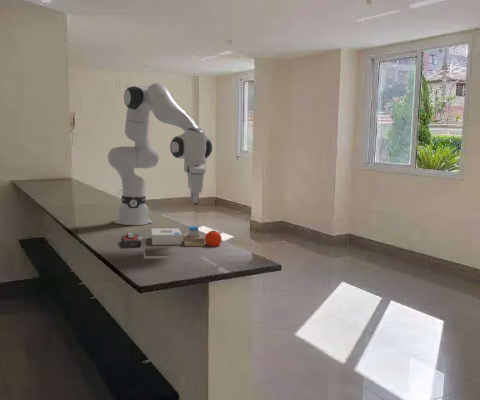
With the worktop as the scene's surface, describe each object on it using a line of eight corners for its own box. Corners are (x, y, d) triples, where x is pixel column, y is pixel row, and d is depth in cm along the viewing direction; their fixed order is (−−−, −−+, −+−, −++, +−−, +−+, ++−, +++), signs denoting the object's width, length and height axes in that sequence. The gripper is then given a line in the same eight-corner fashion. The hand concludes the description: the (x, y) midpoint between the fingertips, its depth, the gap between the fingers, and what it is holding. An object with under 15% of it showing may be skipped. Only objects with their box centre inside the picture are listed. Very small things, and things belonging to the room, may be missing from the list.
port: (151, 239, 215) (151, 227, 214) (178, 239, 217) (179, 227, 216) (152, 247, 201) (152, 234, 200) (181, 246, 203) (181, 234, 203)
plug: (188, 242, 208) (189, 225, 207) (196, 242, 208) (197, 225, 207) (189, 244, 204) (189, 227, 203) (197, 243, 205) (198, 227, 204)
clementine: (205, 244, 209) (206, 228, 208) (222, 245, 209) (222, 228, 208) (203, 248, 201) (204, 231, 200) (220, 249, 201) (221, 232, 200)
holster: (182, 242, 210) (182, 233, 210) (201, 242, 212) (201, 233, 212) (184, 248, 201) (185, 238, 200) (204, 248, 202) (204, 238, 202)
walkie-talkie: (146, 248, 200) (139, 238, 219) (146, 237, 200) (139, 228, 219) (124, 249, 197) (119, 238, 216) (124, 238, 197) (119, 228, 216)
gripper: (184, 166, 212) (184, 197, 213) (189, 169, 192) (189, 204, 193) (199, 166, 213) (198, 197, 215) (205, 169, 193) (205, 204, 195)
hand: (194, 201), depth 204 cm, fingers open, 8 cm apart
